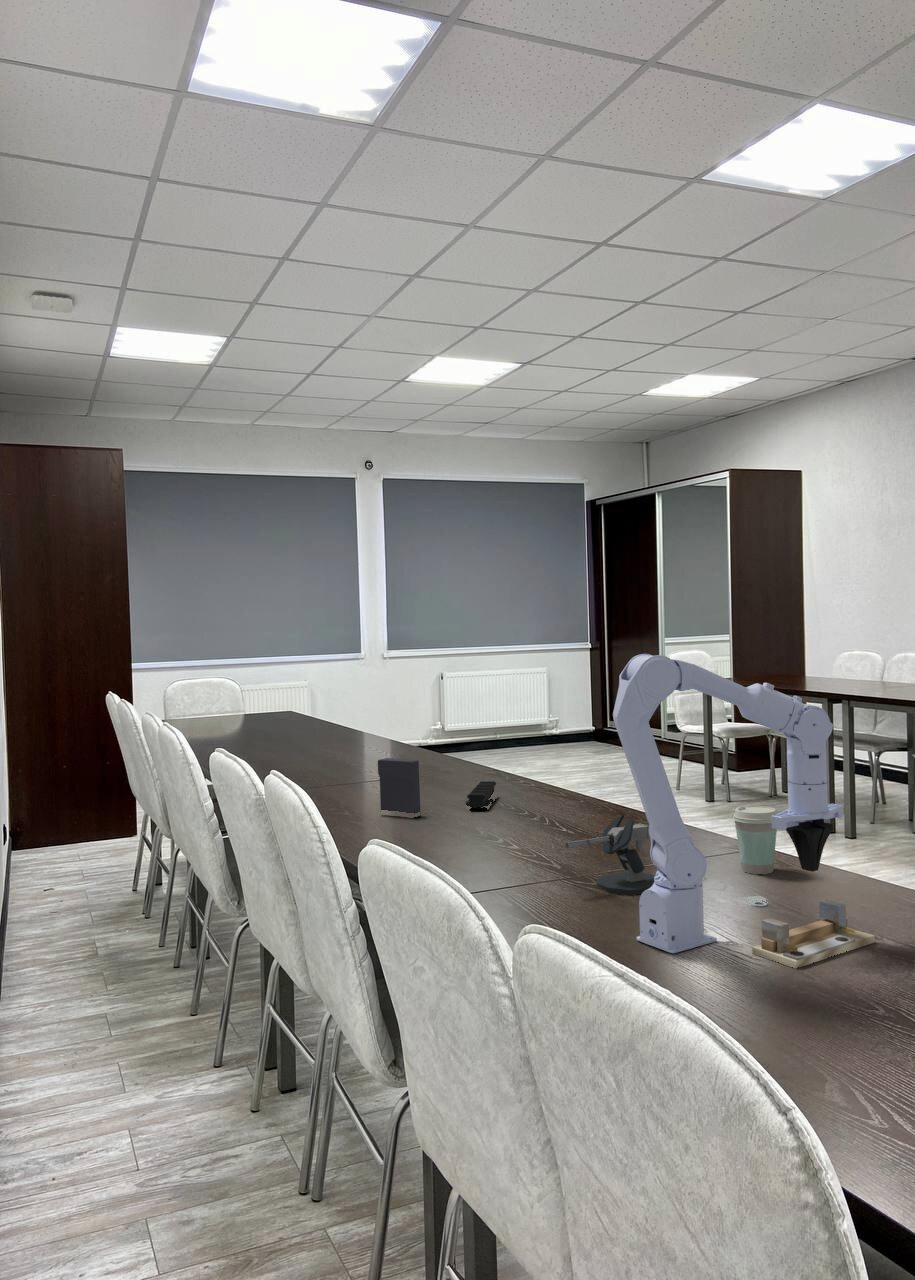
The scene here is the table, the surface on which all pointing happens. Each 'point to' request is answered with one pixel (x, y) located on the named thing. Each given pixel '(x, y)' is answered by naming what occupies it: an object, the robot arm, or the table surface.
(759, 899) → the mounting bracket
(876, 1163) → the table surface
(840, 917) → the sliding head
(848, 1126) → the table surface
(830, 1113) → the table surface
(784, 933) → the jig
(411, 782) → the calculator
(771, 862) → the coffee cup
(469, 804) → the rail mount
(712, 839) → the table surface
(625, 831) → the gun turret
